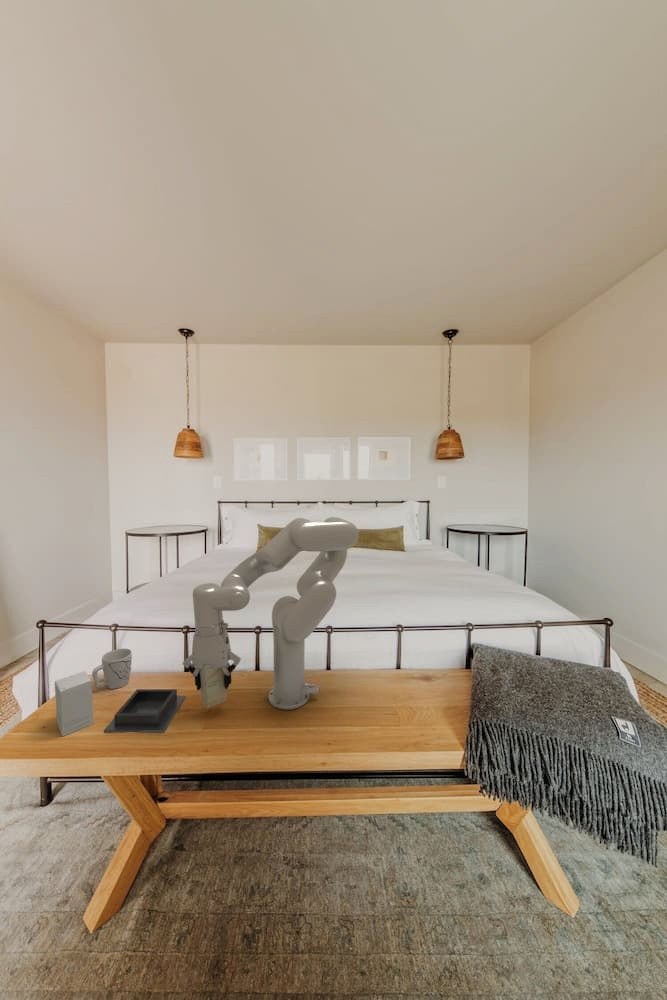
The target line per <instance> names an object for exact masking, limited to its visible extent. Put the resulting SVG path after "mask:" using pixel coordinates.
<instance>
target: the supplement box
mask: <svg viewBox="0 0 667 1000" xmlns="http://www.w3.org/2000/svg"><path fill="white" fill-rule="evenodd" d="M54 693H55V708H56V709H55V712H56V724H57V727H58V729H59V732H60V735H61V737H65V736H67V735H70V734H72V733H74V732H75V733H76V732H77V731H80V730H83V729H84V728H86V727H90V726H91V725H93V724H94V706H93V705H94V703H93V685H92V679H91V677H90V676H89V675H88V673H87V672H86V671H81V672H78V673H74V674H72V675H68V676H66V677H63V678H60V679H58V680H57V679H56V680H55V681H54Z"/></svg>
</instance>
